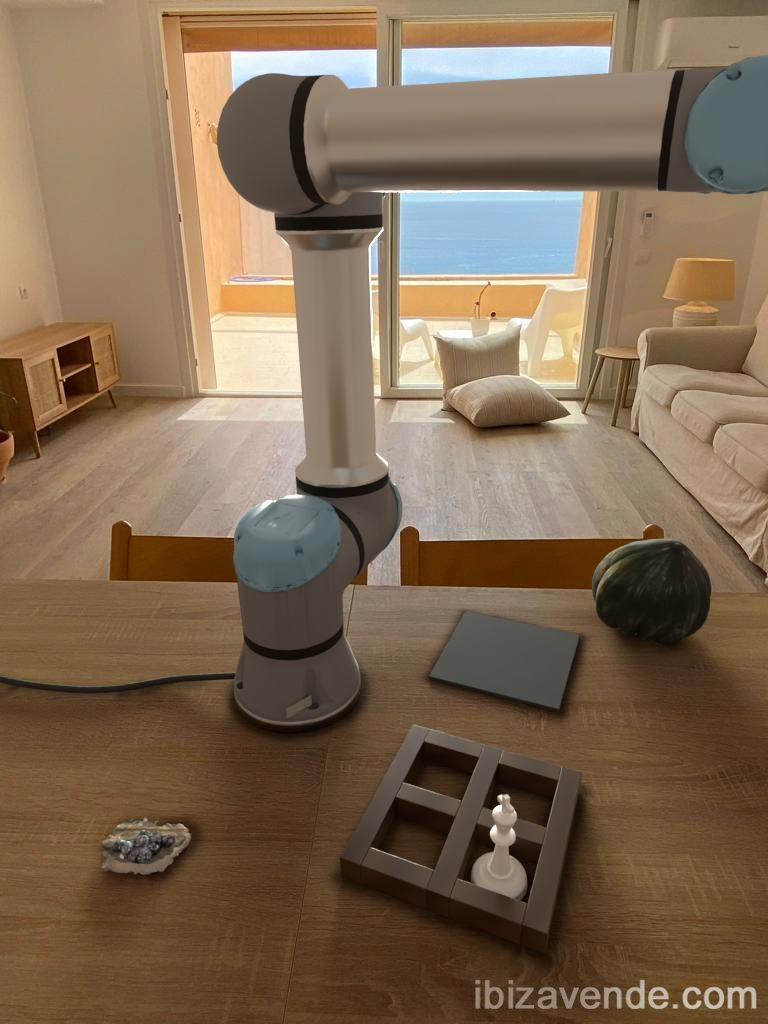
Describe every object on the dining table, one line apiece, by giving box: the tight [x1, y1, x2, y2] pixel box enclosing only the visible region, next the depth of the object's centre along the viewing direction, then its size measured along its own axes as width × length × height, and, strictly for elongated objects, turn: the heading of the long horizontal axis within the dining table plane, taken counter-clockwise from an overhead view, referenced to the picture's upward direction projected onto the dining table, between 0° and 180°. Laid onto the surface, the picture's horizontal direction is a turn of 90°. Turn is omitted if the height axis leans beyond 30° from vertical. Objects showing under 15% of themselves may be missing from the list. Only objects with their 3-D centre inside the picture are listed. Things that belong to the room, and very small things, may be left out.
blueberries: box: [100, 817, 192, 876], centre depth 64 cm, size 7×8×2 cm
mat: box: [428, 610, 581, 712], centre depth 90 cm, size 16×16×1 cm
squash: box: [591, 538, 712, 646], centre depth 93 cm, size 14×15×15 cm
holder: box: [339, 724, 583, 955], centre depth 65 cm, size 18×18×2 cm
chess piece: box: [470, 793, 529, 901], centre depth 59 cm, size 5×5×10 cm
